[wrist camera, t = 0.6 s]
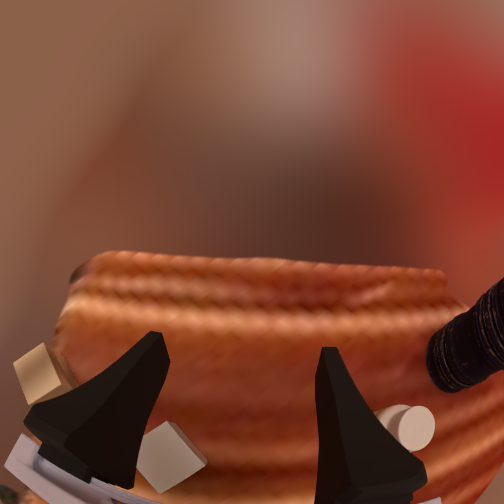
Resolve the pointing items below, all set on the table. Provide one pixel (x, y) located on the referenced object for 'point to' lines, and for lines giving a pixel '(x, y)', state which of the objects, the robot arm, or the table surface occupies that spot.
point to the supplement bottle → (408, 425)
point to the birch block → (44, 374)
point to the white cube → (168, 457)
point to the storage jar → (469, 344)
